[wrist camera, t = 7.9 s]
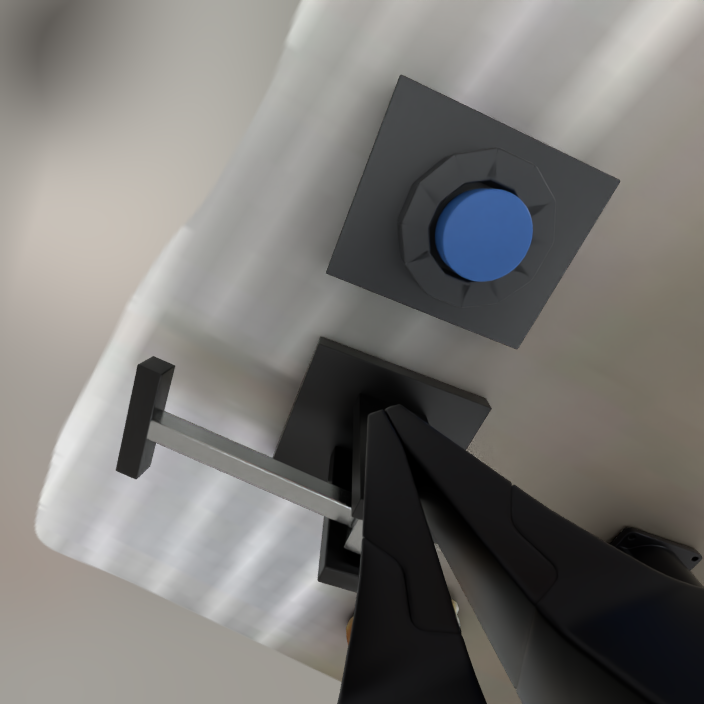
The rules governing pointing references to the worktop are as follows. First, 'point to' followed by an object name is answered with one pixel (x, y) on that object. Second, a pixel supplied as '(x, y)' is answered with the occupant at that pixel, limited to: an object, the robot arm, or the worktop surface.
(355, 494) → the tap bracket
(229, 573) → the worktop surface
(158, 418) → the tap lever
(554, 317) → the worktop surface
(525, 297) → the switch
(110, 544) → the worktop surface
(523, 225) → the button
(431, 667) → the robot arm
